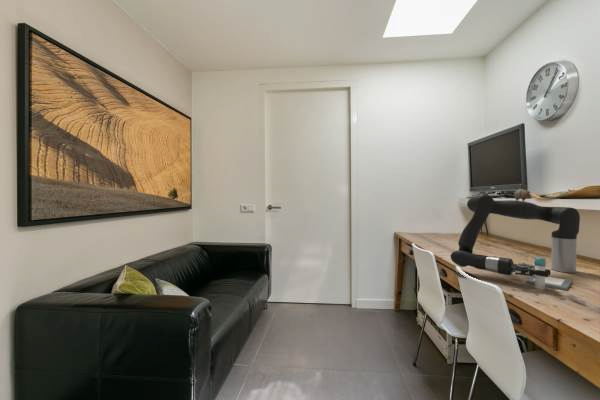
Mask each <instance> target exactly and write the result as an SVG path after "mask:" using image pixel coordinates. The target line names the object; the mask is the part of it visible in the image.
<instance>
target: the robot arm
mask: <svg viewBox="0 0 600 400" xmlns="http://www.w3.org/2000/svg"><path fill="white" fill-rule="evenodd" d="M467 208H468V209H469V210H470V211H471V212H473V215H472V217H471V219H470V220H469V222H468V223H467V224H466V226H464V228H463V230H462V232H461V234H460V237H459V240H458V242H457V245H458V246H459V248H458V250H455V251H453V252H451V253H450V260H451V261H452V262H453V263H454V264H455V265H457V266H459V267H461V268H466V267H467V266H469V267H472V268H474V269H478V270H483V271H487V272H491V273H496V274H500V275H505V276H512V275H513V273H514V274H515V275H517V276H518V275H519V276H525V277H527V276H528V277H531V276H536V275H538V276H543V277H548V276H551V270H553V271H556V272H561V273H568V274H569V273H570V274H575V273H577V236H578V234H579V233H580V221H581V217H580V213H579V211H578V210H577V209H576V208H574V207H569V206H568V207H567V206H566V207H565V206H543V205H538V204H536V203H533V202H529V201H521V200H511V199H510V200H508V199H507V200H494V198H493V196H491V195H489V194H479V195H475V196H472V197H470V198H469V199H468V200H467ZM490 214H493V215H498V216H503V217H509V218H515V219H519V220H520V219H521V220H538V221H544V222H547V223H552V224H555V225H559V226H558V229H557V230H553V231H552V232H551V259H550V260H551V261H550V262H551V265H550V266H551V268H550V269H551V270H550V269H546V268H545V271H541V270H535V265H533V264H528V263H525V262H523V263H519V262H518V263H514V261H513V259H512V258H507V257H500V256H493V255H484V254H477V253H473V252H474V251H473V250H474V247H475V244H476V241H477V240H478V237H479V234H480V232H481V229H482V228H483V225H484V223H485V222H486V220H487V219H488V217H489V216H490Z"/></svg>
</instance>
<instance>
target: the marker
mask: <svg viewBox="0 0 600 400" xmlns="http://www.w3.org/2000/svg"><path fill="white" fill-rule="evenodd" d="M546 263H547V259H546V257H538V256H535V257H534V266H535V270H541V271H545V269H546V266H547V264H546ZM534 288H535V289H537V290H539V291H540V290H541V291H546V286H545V277H543V276H538V275H536V276H535V284H534Z"/></svg>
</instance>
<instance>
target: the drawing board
mask: <svg viewBox="0 0 600 400" xmlns="http://www.w3.org/2000/svg"><path fill="white" fill-rule="evenodd" d="M525 283H527V284H531V285H535V276H529V277H528V278H527V279H525ZM572 284H573V280H572V279H569V278H568V279H567V278H562V277H556V276H551V275H549V276H548V277H545V288H546V287H547V288H552V289H557V290H562V291H568V289H569V288H570V287H571V285H572Z"/></svg>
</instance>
